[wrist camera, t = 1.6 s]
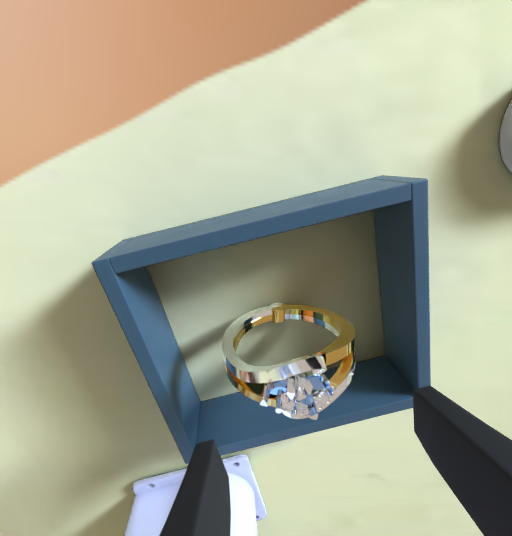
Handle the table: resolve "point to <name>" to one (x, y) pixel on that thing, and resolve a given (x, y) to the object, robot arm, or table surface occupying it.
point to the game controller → (507, 138)
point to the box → (352, 398)
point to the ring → (293, 363)
